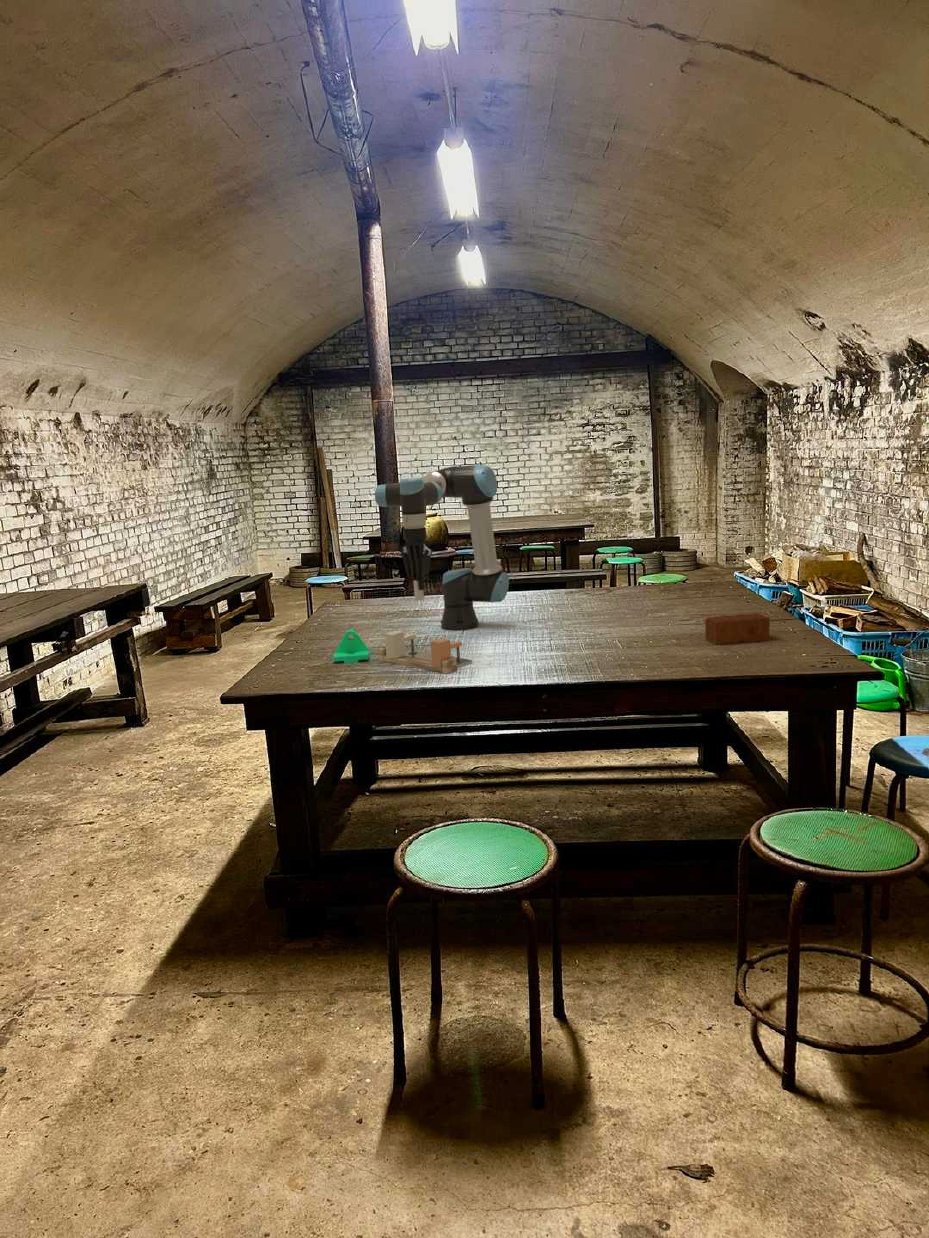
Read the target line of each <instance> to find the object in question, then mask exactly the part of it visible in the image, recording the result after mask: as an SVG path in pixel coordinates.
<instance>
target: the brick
mask: <svg viewBox="0 0 929 1238" xmlns="http://www.w3.org/2000/svg"><path fill="white" fill-rule="evenodd" d="M770 624H771V621H770V617H768V616H766V615H764V614H761V613H757V612H754V613H753V612H752V613H746V614H745V613H744V614H741V613H739V614H735V615H731V614H730V615H721V616H714V617H711V616H710V617H706V619H705V640H706V641H707V642H710V643H711V644H714V645H715V646H719V645H730V644H731V645H732V644H743V643H754V642H757V643H758V642H766V641H769V640H770V626H771V625H770Z"/></svg>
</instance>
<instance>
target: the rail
mask: <svg viewBox="0 0 929 1238" xmlns="http://www.w3.org/2000/svg"><path fill="white" fill-rule="evenodd" d="M378 653H379V654H378V655H379V661H380V662H387V663H393V664H397V665H402V666H407V667H411V668H417V669H421V670H426V671H431V672H436V673H440V674H441V673H442V674H443V675H449V674H450V673H454V672H456V671H458V668H457V662H456V658H451V659H448V660H445V661H442V668H439V667H434V666H432V662H430V661H425V660H420V659H414V658H409V657H404V656H402V657H398V658H395V659H394V658H389V657H387V656H386V647H382V648H379V649H378Z"/></svg>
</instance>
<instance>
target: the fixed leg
mask: <svg viewBox="0 0 929 1238" xmlns="http://www.w3.org/2000/svg"><path fill="white" fill-rule="evenodd" d="M384 638H385V639H384V640H385V648H386V656H387V657H389V658H394V659H395V658H398V657H402V656H405V652H406V647H405V642H407V641H410V650H411V652H414V650H415V642H414V639H416V638H417V635H416V634H414V633H411V634H408V635H405V632H404V631H399V630H394V631H389V632H385V633H384Z"/></svg>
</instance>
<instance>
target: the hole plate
mask: <svg viewBox="0 0 929 1238" xmlns="http://www.w3.org/2000/svg"><path fill="white" fill-rule="evenodd" d="M404 657H409V658H414V659H420V660H425V661H430V662H432V657H431V651H430V652H429V651H425V650H424V651H423V650H419V649H418V650H417V649H414V652H411V649H410V650H407V651H406V650H405V656H404ZM451 658H456V662H457V669H458V668H462V667H464V666H467V665H471V664H473V660H472V659H467V658H462V657H460V660H459V661H458V660H457V656H452V655H451Z"/></svg>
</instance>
